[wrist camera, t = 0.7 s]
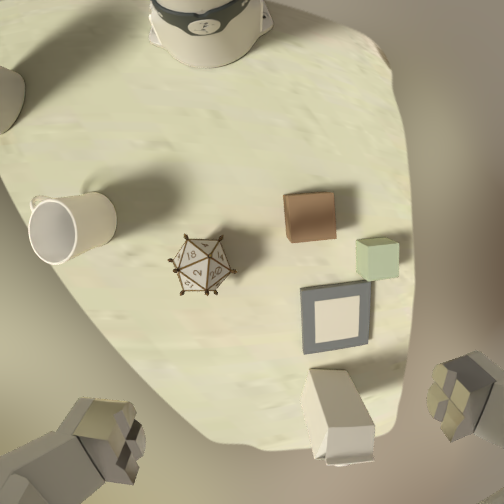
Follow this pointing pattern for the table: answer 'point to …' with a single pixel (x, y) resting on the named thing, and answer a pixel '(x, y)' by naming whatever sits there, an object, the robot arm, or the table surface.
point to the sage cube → (377, 258)
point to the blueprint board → (335, 316)
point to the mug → (70, 225)
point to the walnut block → (310, 216)
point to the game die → (201, 265)
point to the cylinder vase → (10, 97)
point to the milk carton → (336, 418)
